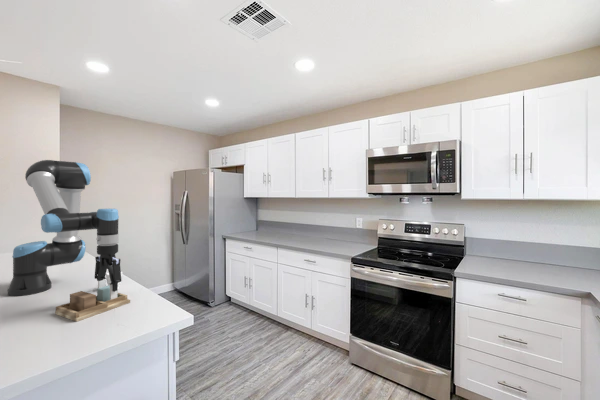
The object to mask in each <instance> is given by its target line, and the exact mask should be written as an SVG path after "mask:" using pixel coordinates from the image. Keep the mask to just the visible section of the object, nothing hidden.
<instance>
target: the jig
mask: <svg viewBox="0 0 600 400" xmlns="http://www.w3.org/2000/svg"><path fill="white" fill-rule="evenodd" d="M130 303H131V299H128V294H125V293H121V292H118V297H117V298H114V299H111V300H108V301H105V302H103V301H99V300H97V295H96V306H94V307H91V308H88V309H85V310H82V311H79V312H77V311H74V310H71V309H70V302H68V303H64V304H61V305H57V306H55V311H54V313H55V315H57V316H59V317H63V318H66V319H68V320H71V321H73V322H76V323H77V322H80V321H84V320H86V319H88V318H91V317H94V316H97V315H100V314H103V313H105V312H108V311H111V310H114V309H116V308H120V307H122V306H124V305H127V304H130Z"/></svg>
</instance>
